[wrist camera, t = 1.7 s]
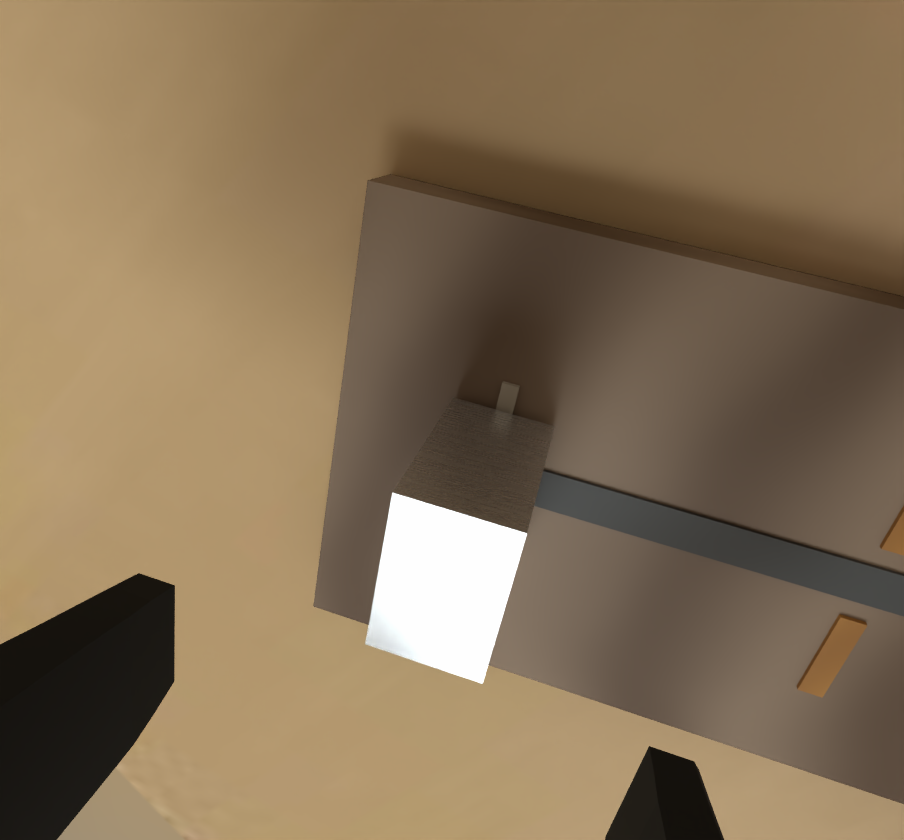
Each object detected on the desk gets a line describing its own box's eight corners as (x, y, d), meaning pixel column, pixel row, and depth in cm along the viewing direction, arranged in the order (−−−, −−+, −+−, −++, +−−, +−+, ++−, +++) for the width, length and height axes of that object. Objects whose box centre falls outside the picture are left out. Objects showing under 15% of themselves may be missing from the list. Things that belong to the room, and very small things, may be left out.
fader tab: (554, 426, 15) (527, 533, 11) (517, 552, 17) (482, 684, 13) (453, 397, 16) (392, 492, 12) (426, 523, 17) (365, 644, 13)
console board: (1373, 408, 13) (1463, 445, 12) (1020, 799, 18) (1052, 858, 17) (390, 174, 16) (365, 180, 14) (333, 575, 21) (311, 608, 20)
